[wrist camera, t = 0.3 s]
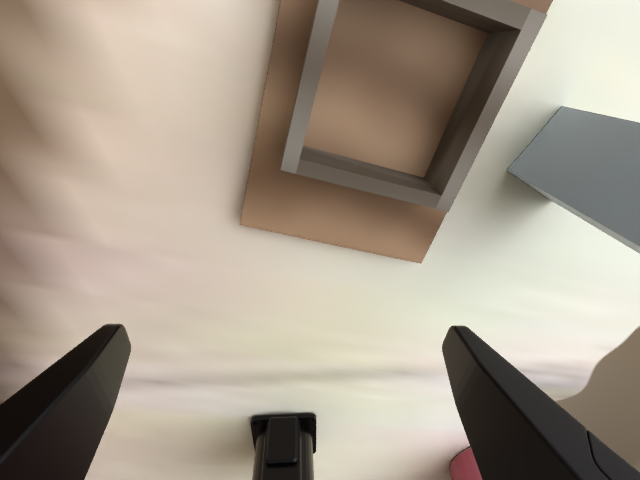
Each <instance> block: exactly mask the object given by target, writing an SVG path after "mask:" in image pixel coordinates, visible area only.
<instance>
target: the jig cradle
mask: <svg viewBox="0 0 640 480" xmlns="http://www.w3.org/2000/svg"><path fill="white" fill-rule="evenodd" d="M552 1H553V0H281V2H280V7H279V13H278V18H277V24H276V29H275V34H274V40H273V45H272V51H271V56H270V62H269V67H268V73H267V78H266V84H265V89H264V95H263V100H262V106H261V111H260V117H259V122H258V127H257V133H256V138H255V144H254V149H253V155H252V160H251V166H250V171H249V177H248V182H247V188H246V193H245V199H244V204H243V210H242V215H241V220H240V225H243V226H248V227H253V228H257V229H262V230H267V231H271V232H276V233H281V234H285V235H290V236H295V237H299V238H304V239H309V240H313V241H318V242H323V243H327V244H332V245H337V246H341V247H346V248H351V249H355V250H360V251H365V252H369V253H374V254H379V255H383V256H388V257H393V258H397V259H402V260H407V261H411V262H416V263H422V261H423V259H424V257H425V255H426V253H427V251H428V249H429V247H430V245H431V243H432V241H433V239H434V237H435V235H436V233H437V231H438V229H439V227H440V225H441V223H442V221H443V219H444V217H445V215H446V213H447V212H449V210H450V208H451V206H452V204H453V202H454V200H455V198H456V196H457V194H458V192H459V190H460V188H461V186H462V184H463V182H464V180H465V178H466V176H467V174H468V172H469V170H470V168H471V166H472V164H473V162H474V160H475V158H476V156H477V154H478V152H479V150H480V148H481V146H482V144H483V142H484V140H485V138H486V136H487V134H488V132H489V130H490V128H491V126H492V124H493V122H494V120H495V118H496V116H497V114H498V112H499V110H500V108H501V106H502V104H503V102H504V100H505V98H506V96H507V94H508V92H509V90H510V88H511V86H512V84H513V82H514V80H515V78H516V76H517V74H518V72H519V70H520V68H521V66H522V64H523V62H524V60H525V58H526V56H527V54H528V52H529V50H530V48H531V46H532V44H533V42H534V40H535V38H536V36H537V34H538V32H539V30H540V28H541V26H542V24H543V22H544V20H545V18H546V16H547V14H546V13H547V11H548V9H549V7H550V5H551V3H552Z"/></svg>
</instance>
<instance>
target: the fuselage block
mask: <svg viewBox="0 0 640 480" xmlns="http://www.w3.org/2000/svg"><path fill="white" fill-rule="evenodd" d="M507 170H508V171H509V172H511V173H512V174H514V175H515V176H517V177H518V178H519V179H521V180H522V181H524V182H525V183H527V184H528V185H530V186H531V187H533V188H534V189H535V190H537V191H538V192H540V193H541V194H543V195H544V196H546V197H547V198H548V199H550V200H551V201H553V202H555V203H556V204H558V205H560V206H561V207H563V208H565V209H566V210H568V211H570V212H571V213H573V214H575V215H576V216H578V217H580V218H581V219H583V220H585V221H586V222H588V223H590V224H591V225H593V226H595V227H596V228H598V229H600V230H601V231H603V232H605V233H606V234H608V235H610V236H611V237H613V238H615V239H616V240H618V241H620V242H621V243H623V244H625V245H627V246H628V247H630V248H632V249H633V250H635V251H637V252H638V253H640V123H638V122H633V121H629V120H624V119H619V118H615V117H610V116H605V115H601V114H596V113H592V112H587V111H582V110H578V109H573V108H568V107H564V106H562V107H561V108H560V109H559V110H558V111H557V113H556V114H555V115H554V116H553V117H552V118H551V119H550V121H549V122H548V123H547V124H546V125H545V126H544V128H543V129H542V130H541V131H540V132H539V133H538V135H537V136H536V137H535V138H534V139H533V140H532V141H531V143H530V144H529V145H528V146H527V147H526V148H525V150H524V151H523V152H522V153H521V154H520V155H519V157H518V158H517V159H516V160H515V161H514V162H513V163H512V165H511V166H510V167H509V168H508V169H507Z"/></svg>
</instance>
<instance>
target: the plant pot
mask: <svg viewBox="0 0 640 480" xmlns="http://www.w3.org/2000/svg"><path fill="white" fill-rule="evenodd" d="M450 473H451V479H452V480H482V477H481V474H480V471H479V469H478V466H477V463H476V460H475V457H474V455H473V452H472V449H471V447H470V448H468V449H466V450H464V451H463V452H461V453H460V454H459V455H457V456H456V457H455V458H454V460H453V461H452V463H451V465H450Z"/></svg>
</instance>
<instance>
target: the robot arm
mask: <svg viewBox="0 0 640 480" xmlns="http://www.w3.org/2000/svg"><path fill="white" fill-rule="evenodd" d="M130 352H131V344H130V341H129V338H128V335H127V332H126V330H125V327H124V326H123V325H122V324H106V325H104V326H102V327H101V328H100V329H98V330H97V331H96V332H94V333H93V334H92V335H90V336H89V337H88V338H87V339H85V340H84V341H83V342H81V343H80V344H79V345H77V346H76V347H75V348H74V349H72V350H71V351H70V352H68V353H67V354H66V355H64V356H63V357H62V358H61V359H59V360H58V361H57V362H55V363H54V364H53V365H52V366H50V367H49V368H48V369H46V370H45V371H44V372H42V373H41V374H40V375H39V376H37V377H36V378H35V379H33V380H32V381H31V382H29V383H28V384H27V385H26V386H24V387H23V388H22V389H20V390H19V391H18V392H16V393H15V394H14V395H13V396H11V397H10V398H9V399H7V400H6V401H5V402H3V403H2V404H1V405H0V480H84V479H85V477H86V474H87V472H88V469H89V467H90V465H91V462H92V460H93V457H94V455H95V453H96V450H97V448H98V445H99V443H100V441H101V438H102V436H103V433H104V431H105V429H106V426H107V424H108V421H109V419H110V417H111V414H112V411H113V409H114V406H115V403H116V399H117V396H118V393H119V389H120V386H121V383H122V379H123V376H124V372H125V369H126V366H127V362H128V359H129V356H130ZM442 352H443V356H444V360H445V364H446V368H447V372H448V376H449V380H450V385H451V389H452V393H453V397H454V400H455V404H456V407H457V410H458V413H459V416H460V418H461V421H462V424H463V427H464V430H465V432H466V435H467V438H468V441H469V443H470V446H471V449H472V452H473V455H474V457H475V460H476V463H477V466H478V469H479V471H480V474H481V477H482V480H640V472H639V471H638V470H636V469H635V468H634V467H633V466H631V465H630V464H629V463H627V462H626V461H625V460H624V459H623V458H621V457H620V456H619V455H618V454H616V453H615V452H614V451H613V450H612V449H611V448H609V447H608V446H607V445H606V444H604V443H603V442H602V441H601V440H600V439H599V438H597V437H596V436H595V435H594V434H593V433H591V432H590V431H589V430H586V428H585V427H584V426H583V425H582V424H581V423H579V422H578V421H577V420H576V419H575V418H574V417H572V416H571V415H570V414H569V413H568V412H566V411H565V410H564V409H563V408H562V407H561V406H560V405H558V404H557V403H556V402H555V401H554V400H552V399H551V398H550V397H549V396H548V395H547V394H545V393H544V392H543V391H542V390H541V389H540V388H538V387H537V386H536V385H535V384H534V383H532V382H531V381H530V380H529V379H528V378H527V377H525V376H524V375H523V374H522V373H521V372H519V371H518V370H517V369H516V368H515V367H514V366H512V365H511V364H510V363H509V362H508V361H507V360H505V359H504V358H503V357H502V356H501V355H499V354H498V353H497V352H496V351H495V350H494V349H492V348H491V347H490V346H489V345H488V344H487V343H485V342H484V341H483V340H482V339H481V338H479V337H478V336H477V335H476V334H475V333H474V332H472V331H471V330H470V329H469V328H468V327H466V326H451V327H450V328H449V330H448V332H447V335H446V337H445V339H444V342H443V345H442ZM251 429H252V436H253V443H254V449H255V460H254V469H253V478H252V480H314V471H313V453H315V452H316V415H315V414H290V415H269V416H254V417H252V418H251Z"/></svg>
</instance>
